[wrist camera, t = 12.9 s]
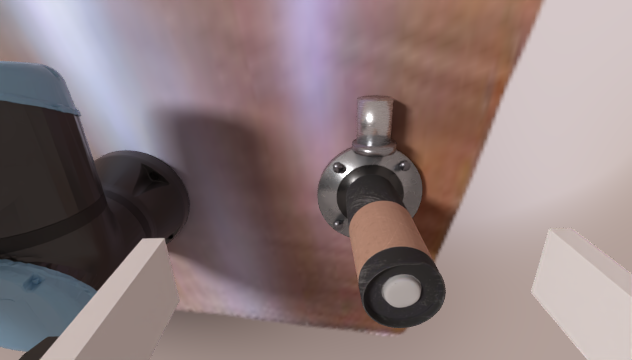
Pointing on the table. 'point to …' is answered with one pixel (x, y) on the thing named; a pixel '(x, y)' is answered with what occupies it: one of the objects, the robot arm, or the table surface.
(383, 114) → the fitting
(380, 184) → the travel mug
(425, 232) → the table surface
